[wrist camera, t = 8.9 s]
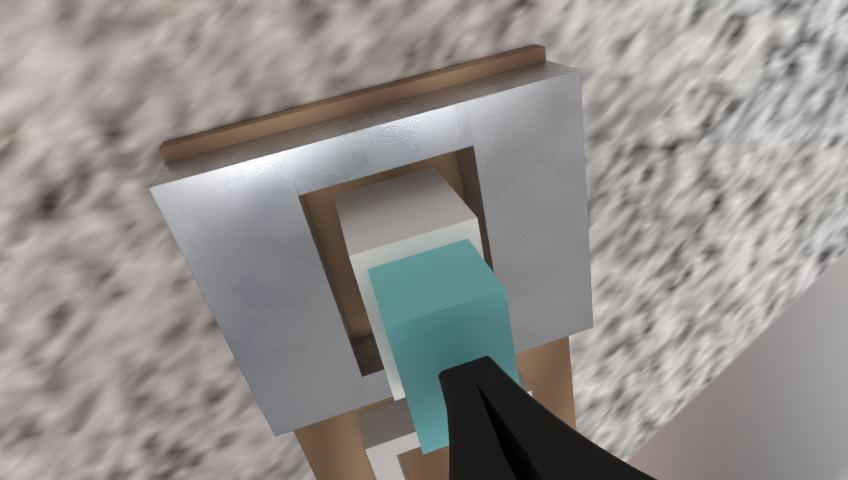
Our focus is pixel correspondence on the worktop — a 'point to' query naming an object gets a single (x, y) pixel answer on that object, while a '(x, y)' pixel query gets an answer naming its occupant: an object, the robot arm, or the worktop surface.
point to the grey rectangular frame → (394, 436)
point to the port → (365, 155)
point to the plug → (424, 289)
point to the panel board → (341, 435)
